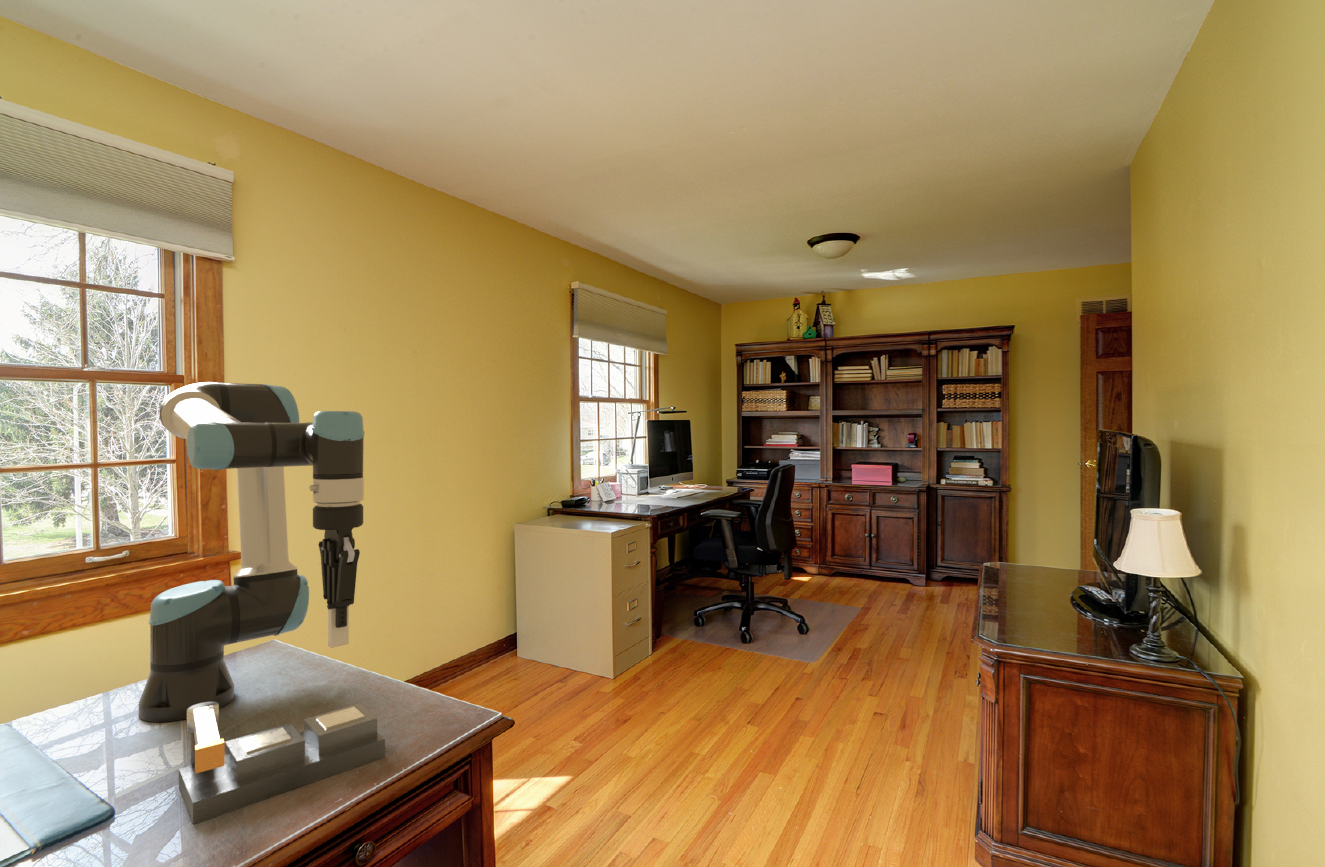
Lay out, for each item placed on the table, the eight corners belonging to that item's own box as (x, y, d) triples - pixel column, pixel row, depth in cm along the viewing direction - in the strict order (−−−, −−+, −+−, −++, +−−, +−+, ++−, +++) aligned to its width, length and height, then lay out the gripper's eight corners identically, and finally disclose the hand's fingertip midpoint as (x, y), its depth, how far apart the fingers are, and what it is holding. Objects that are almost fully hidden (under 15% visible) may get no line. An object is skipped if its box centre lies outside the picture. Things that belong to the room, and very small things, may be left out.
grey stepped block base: (177, 784, 98) (177, 732, 98) (355, 728, 116) (355, 685, 116) (193, 824, 88) (192, 766, 88) (384, 756, 106) (385, 708, 106)
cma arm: (186, 725, 99) (186, 705, 99) (217, 718, 101) (217, 698, 101) (191, 774, 85) (191, 750, 85) (228, 764, 88) (227, 741, 88)
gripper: (302, 501, 108) (302, 640, 109) (326, 509, 99) (326, 661, 99) (348, 498, 114) (349, 630, 114) (376, 505, 104) (376, 649, 104)
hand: (338, 644), depth 106 cm, fingers closed
